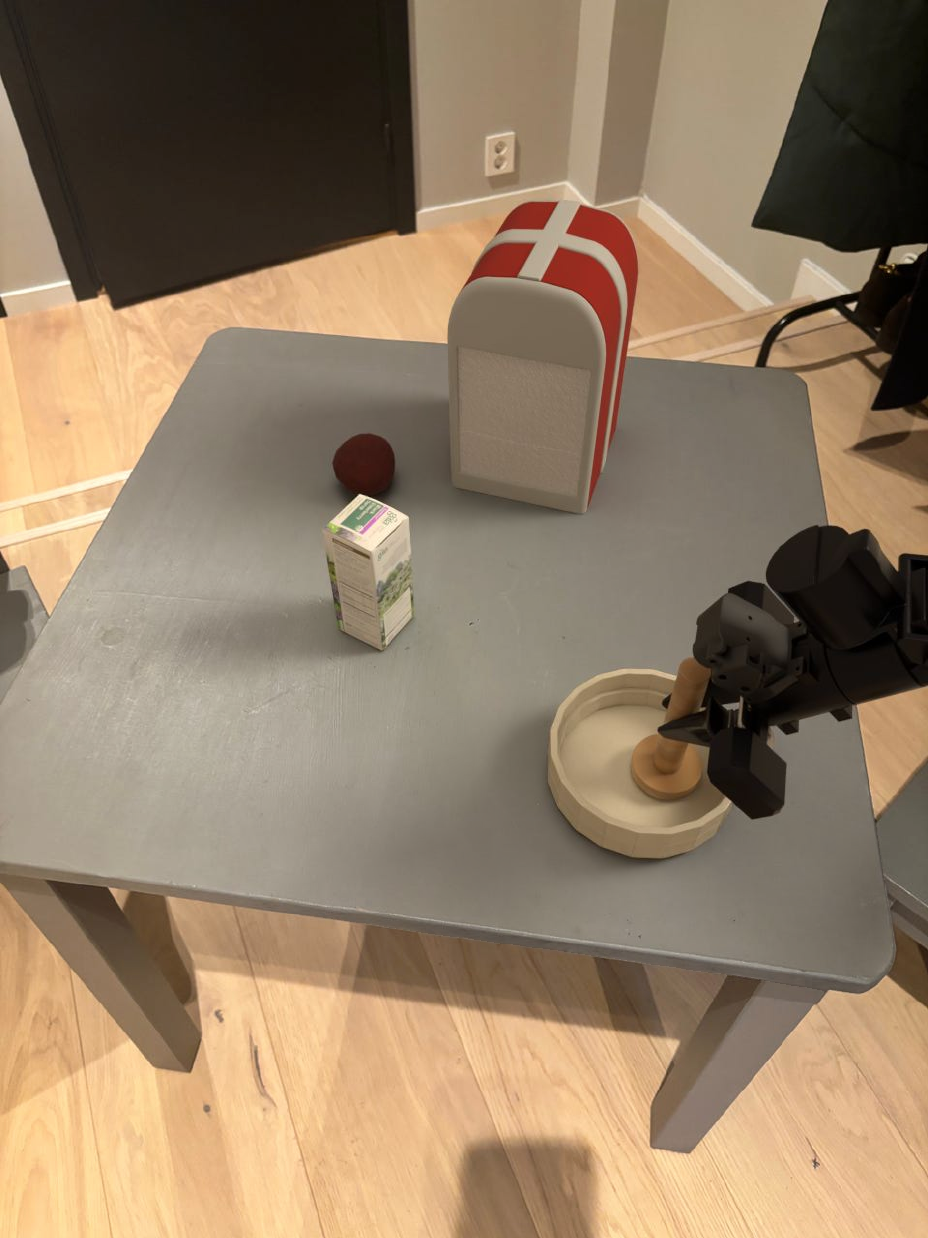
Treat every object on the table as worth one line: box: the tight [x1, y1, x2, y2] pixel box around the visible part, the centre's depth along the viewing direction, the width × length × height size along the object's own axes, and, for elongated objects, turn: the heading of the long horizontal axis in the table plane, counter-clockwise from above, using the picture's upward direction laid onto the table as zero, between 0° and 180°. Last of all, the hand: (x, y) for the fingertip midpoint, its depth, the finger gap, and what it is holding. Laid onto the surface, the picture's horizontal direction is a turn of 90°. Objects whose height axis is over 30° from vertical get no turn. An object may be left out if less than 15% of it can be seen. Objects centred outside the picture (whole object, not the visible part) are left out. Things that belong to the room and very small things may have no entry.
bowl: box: [546, 668, 734, 859], centre depth 78 cm, size 16×16×5 cm
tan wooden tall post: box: [631, 657, 711, 800], centre depth 73 cm, size 6×6×15 cm
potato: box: [331, 432, 396, 497], centre depth 103 cm, size 7×8×6 cm
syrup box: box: [321, 494, 415, 652], centre depth 86 cm, size 6×6×14 cm
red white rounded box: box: [446, 198, 640, 515], centre depth 98 cm, size 17×18×27 cm
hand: (662, 719), depth 73 cm, fingers closed on tan wooden tall post, 2 cm apart
